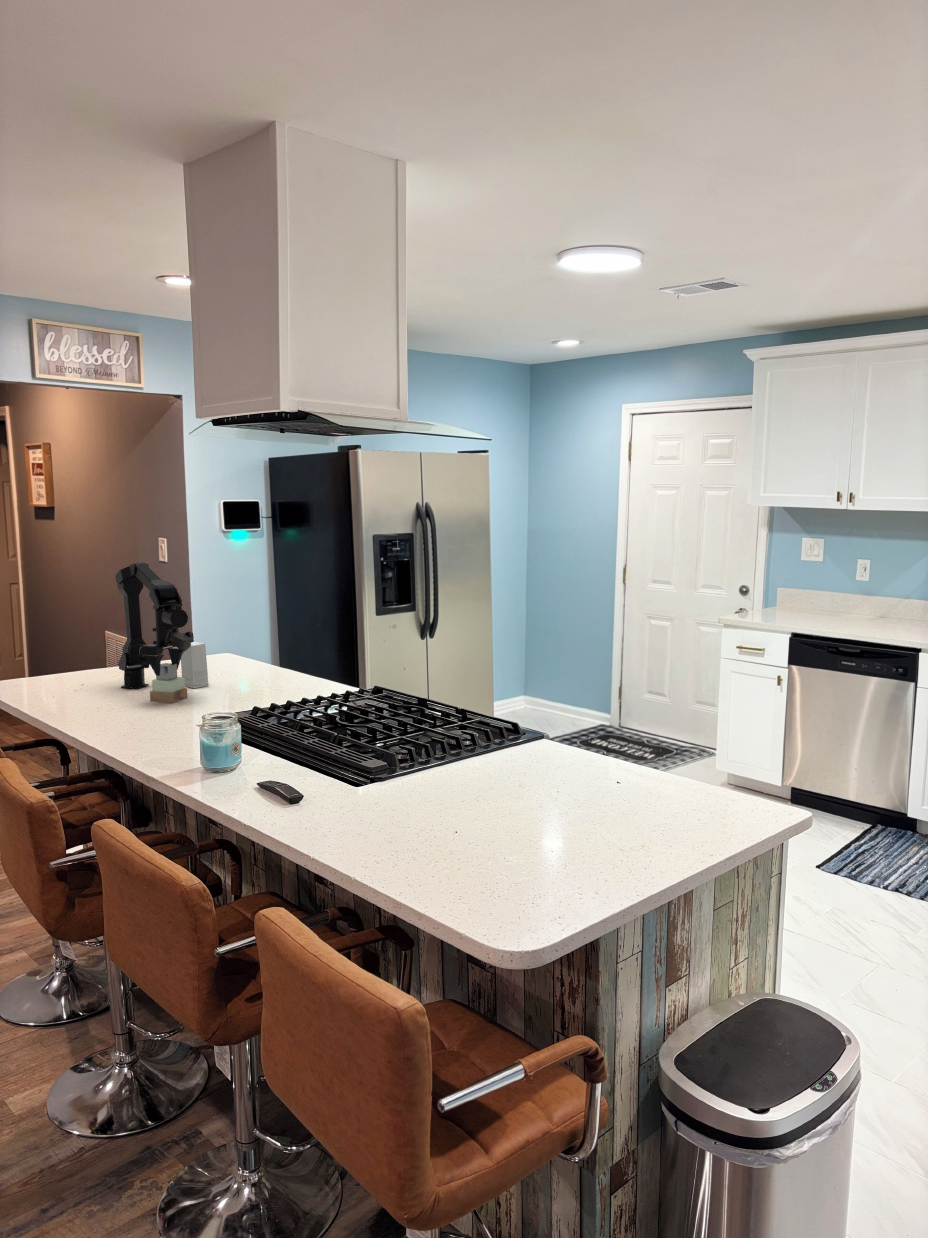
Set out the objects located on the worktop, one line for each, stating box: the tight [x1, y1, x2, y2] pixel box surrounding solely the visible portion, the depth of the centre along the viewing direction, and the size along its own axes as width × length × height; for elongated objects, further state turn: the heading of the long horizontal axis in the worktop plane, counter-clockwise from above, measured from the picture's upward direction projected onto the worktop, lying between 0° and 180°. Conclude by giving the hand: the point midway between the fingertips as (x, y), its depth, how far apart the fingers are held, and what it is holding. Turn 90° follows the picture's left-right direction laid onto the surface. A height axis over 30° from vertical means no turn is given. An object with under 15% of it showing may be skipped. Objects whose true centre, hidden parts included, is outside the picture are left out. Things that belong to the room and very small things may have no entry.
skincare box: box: [180, 640, 210, 689], centre depth 304 cm, size 8×6×15 cm
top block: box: [151, 676, 186, 693], centre depth 285 cm, size 7×7×4 cm
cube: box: [155, 662, 178, 681], centre depth 284 cm, size 4×4×4 cm
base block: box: [149, 687, 188, 704], centre depth 285 cm, size 8×8×4 cm
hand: (166, 673), depth 284 cm, fingers open, 9 cm apart
